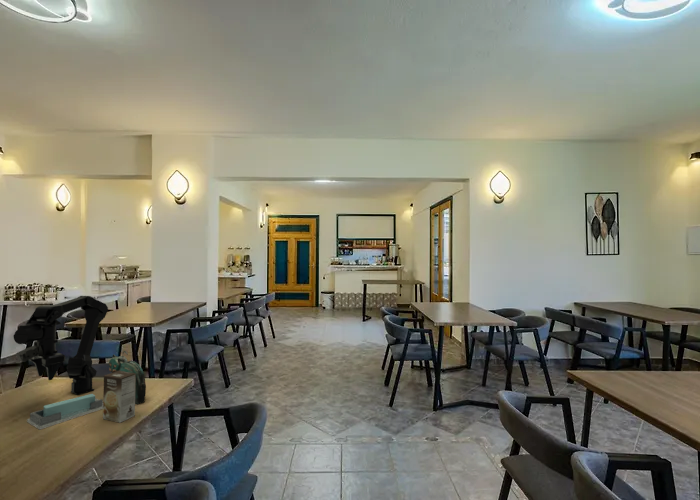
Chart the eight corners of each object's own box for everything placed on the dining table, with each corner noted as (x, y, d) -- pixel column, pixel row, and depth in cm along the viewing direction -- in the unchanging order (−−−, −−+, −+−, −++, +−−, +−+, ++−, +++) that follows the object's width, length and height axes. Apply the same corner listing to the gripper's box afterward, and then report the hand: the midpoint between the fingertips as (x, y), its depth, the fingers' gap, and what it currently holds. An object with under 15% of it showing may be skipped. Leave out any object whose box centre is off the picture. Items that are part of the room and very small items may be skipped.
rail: (92, 403, 141) (92, 393, 141) (95, 406, 139) (95, 395, 139) (43, 416, 130) (43, 405, 130) (45, 419, 127) (45, 408, 128)
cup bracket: (95, 400, 147) (95, 393, 147) (109, 406, 141) (109, 398, 141) (27, 421, 128) (27, 413, 128) (39, 429, 122) (39, 420, 122)
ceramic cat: (106, 397, 150) (107, 350, 151) (122, 392, 156) (122, 346, 157) (135, 406, 141) (135, 356, 142) (150, 400, 147) (151, 352, 147)
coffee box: (101, 419, 130) (102, 375, 130) (118, 412, 136) (118, 370, 136) (120, 423, 127) (120, 378, 127) (136, 415, 133) (136, 372, 133)
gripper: (10, 339, 137) (9, 379, 137) (29, 345, 128) (28, 389, 128) (46, 333, 147) (45, 371, 147) (66, 339, 137) (65, 379, 137)
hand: (45, 377), depth 139 cm, fingers open, 9 cm apart
